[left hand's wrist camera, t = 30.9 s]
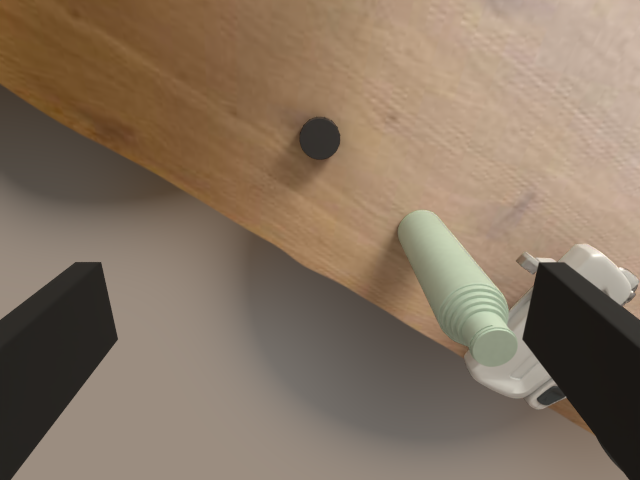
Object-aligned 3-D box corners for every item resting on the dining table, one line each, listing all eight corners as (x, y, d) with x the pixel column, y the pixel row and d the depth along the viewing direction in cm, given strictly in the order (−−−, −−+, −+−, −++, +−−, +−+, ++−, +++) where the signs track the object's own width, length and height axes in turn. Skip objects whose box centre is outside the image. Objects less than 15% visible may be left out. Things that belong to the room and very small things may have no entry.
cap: (331, 110, 45) (332, 112, 44) (344, 148, 47) (345, 151, 45) (294, 124, 46) (293, 126, 44) (308, 162, 48) (308, 165, 46)
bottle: (449, 215, 50) (548, 323, 28) (434, 255, 52) (516, 386, 30) (405, 205, 49) (472, 307, 28) (391, 246, 51) (444, 372, 30)
